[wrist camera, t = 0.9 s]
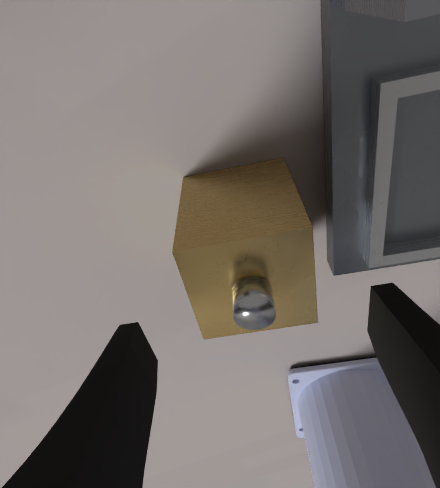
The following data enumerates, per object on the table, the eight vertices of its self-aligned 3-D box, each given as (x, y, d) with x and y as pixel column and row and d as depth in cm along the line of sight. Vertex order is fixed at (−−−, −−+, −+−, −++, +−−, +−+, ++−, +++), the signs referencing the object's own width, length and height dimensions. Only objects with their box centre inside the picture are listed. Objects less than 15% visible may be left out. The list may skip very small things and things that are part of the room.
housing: (291, 239, 18) (326, 348, 13) (205, 254, 18) (203, 365, 13) (283, 157, 15) (322, 251, 10) (183, 176, 16) (168, 276, 10)
